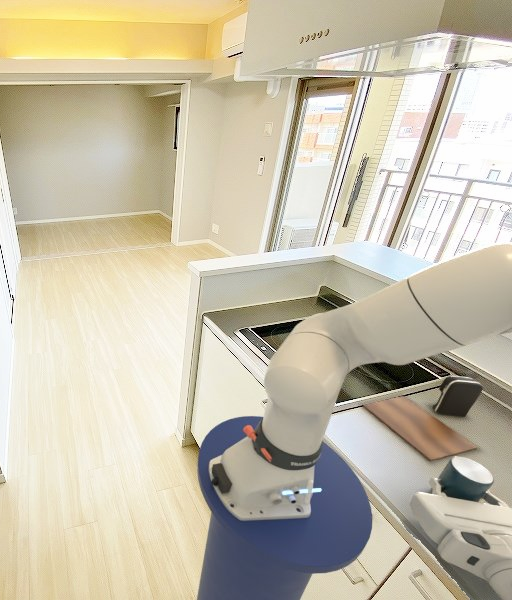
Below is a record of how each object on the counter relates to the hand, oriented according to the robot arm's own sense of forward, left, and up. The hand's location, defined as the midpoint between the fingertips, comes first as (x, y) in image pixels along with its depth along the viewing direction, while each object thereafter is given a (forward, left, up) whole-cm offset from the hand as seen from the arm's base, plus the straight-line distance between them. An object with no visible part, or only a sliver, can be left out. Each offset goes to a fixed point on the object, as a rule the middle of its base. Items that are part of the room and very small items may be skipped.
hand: (455, 483), depth 66 cm
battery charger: (+28, +19, -7) cm, 34 cm away
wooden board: (+15, +17, -7) cm, 23 cm away
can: (0, -1, -7) cm, 7 cm away
